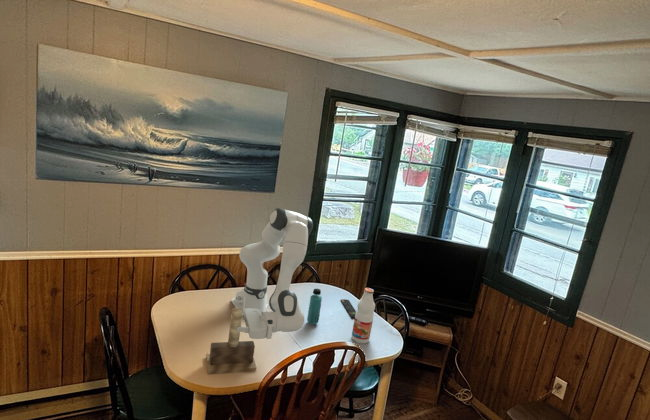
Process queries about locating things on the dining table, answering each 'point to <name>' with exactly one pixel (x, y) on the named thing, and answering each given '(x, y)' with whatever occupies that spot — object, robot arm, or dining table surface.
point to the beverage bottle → (314, 307)
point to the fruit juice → (364, 317)
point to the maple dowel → (234, 327)
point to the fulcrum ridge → (231, 358)
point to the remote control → (349, 308)
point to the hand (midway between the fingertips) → (235, 323)
